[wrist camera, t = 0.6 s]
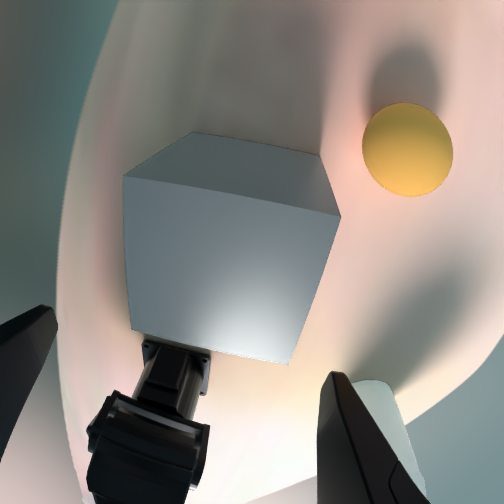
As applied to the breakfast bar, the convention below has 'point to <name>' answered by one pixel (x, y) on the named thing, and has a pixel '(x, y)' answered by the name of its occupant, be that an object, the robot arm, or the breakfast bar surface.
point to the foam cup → (390, 424)
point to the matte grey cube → (227, 244)
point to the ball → (407, 149)
